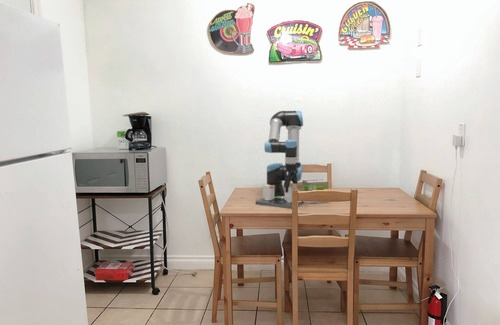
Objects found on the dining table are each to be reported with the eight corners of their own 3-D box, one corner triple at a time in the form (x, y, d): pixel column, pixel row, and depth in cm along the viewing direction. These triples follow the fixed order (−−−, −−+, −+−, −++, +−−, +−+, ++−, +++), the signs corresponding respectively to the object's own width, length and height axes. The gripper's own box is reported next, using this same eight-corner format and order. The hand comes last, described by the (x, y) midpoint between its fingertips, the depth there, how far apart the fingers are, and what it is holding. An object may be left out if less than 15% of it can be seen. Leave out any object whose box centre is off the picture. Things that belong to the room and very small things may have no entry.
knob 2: (283, 201, 234) (283, 186, 233) (289, 200, 237) (289, 185, 236) (292, 203, 228) (293, 188, 226) (298, 202, 231) (298, 187, 229)
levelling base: (265, 199, 250) (265, 193, 249) (302, 203, 237) (303, 197, 237) (255, 204, 235) (255, 198, 235) (295, 208, 223) (295, 202, 223)
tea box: (308, 204, 235) (308, 182, 233) (301, 200, 245) (302, 179, 243) (328, 202, 239) (328, 181, 237) (321, 199, 249) (321, 178, 247)
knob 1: (261, 199, 241) (261, 184, 240) (267, 198, 244) (267, 183, 243) (270, 201, 235) (270, 186, 233) (275, 200, 238) (275, 185, 236)
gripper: (289, 166, 217) (289, 199, 219) (302, 161, 239) (301, 191, 241) (278, 165, 220) (278, 198, 223) (291, 160, 242) (291, 190, 245)
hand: (290, 195), depth 232 cm, fingers open, 13 cm apart
